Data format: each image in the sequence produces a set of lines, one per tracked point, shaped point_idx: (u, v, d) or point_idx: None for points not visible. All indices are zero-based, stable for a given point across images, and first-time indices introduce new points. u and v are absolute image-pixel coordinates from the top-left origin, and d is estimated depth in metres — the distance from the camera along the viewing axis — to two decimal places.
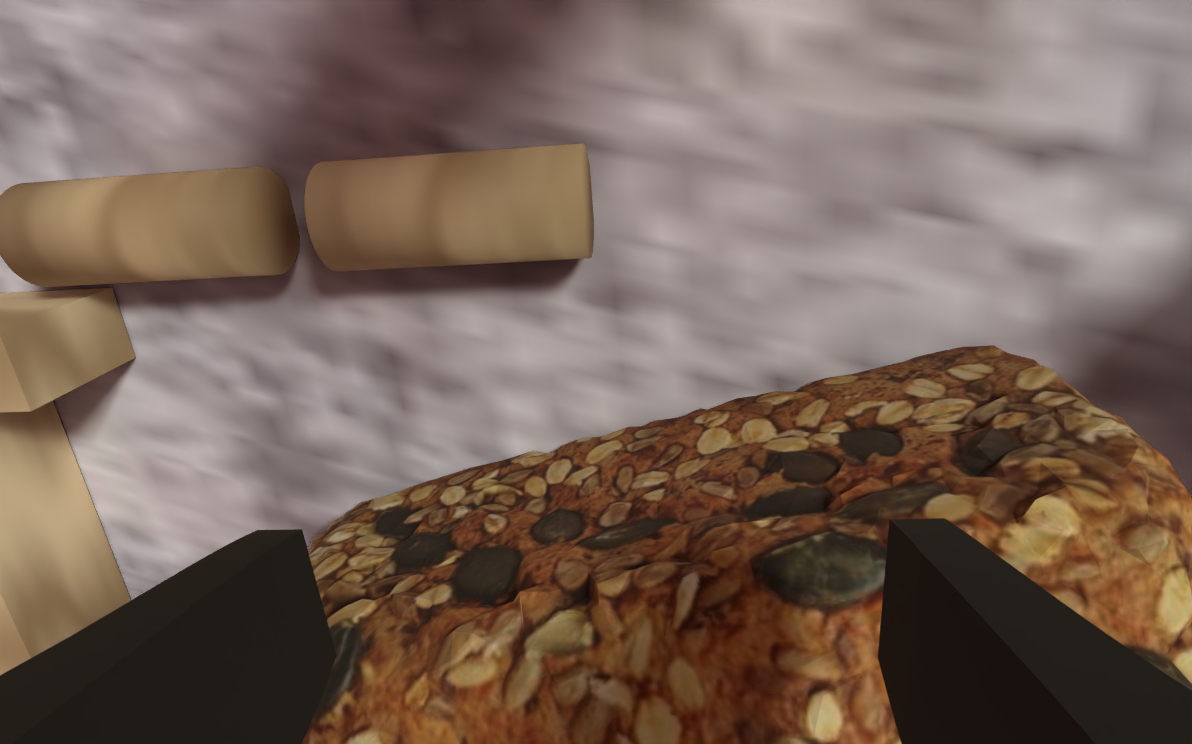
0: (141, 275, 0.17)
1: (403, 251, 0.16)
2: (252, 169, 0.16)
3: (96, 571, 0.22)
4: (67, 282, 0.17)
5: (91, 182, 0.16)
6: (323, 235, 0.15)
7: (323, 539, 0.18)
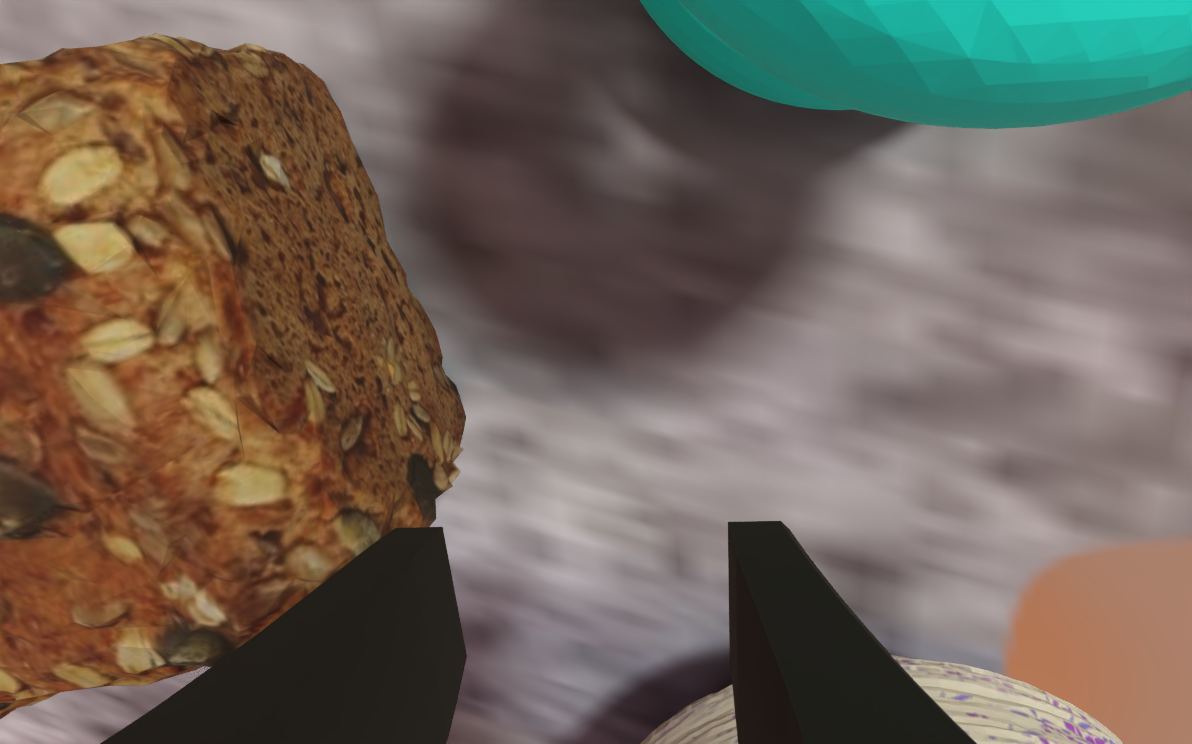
0: None
1: None
2: None
3: None
4: None
5: None
6: None
7: None
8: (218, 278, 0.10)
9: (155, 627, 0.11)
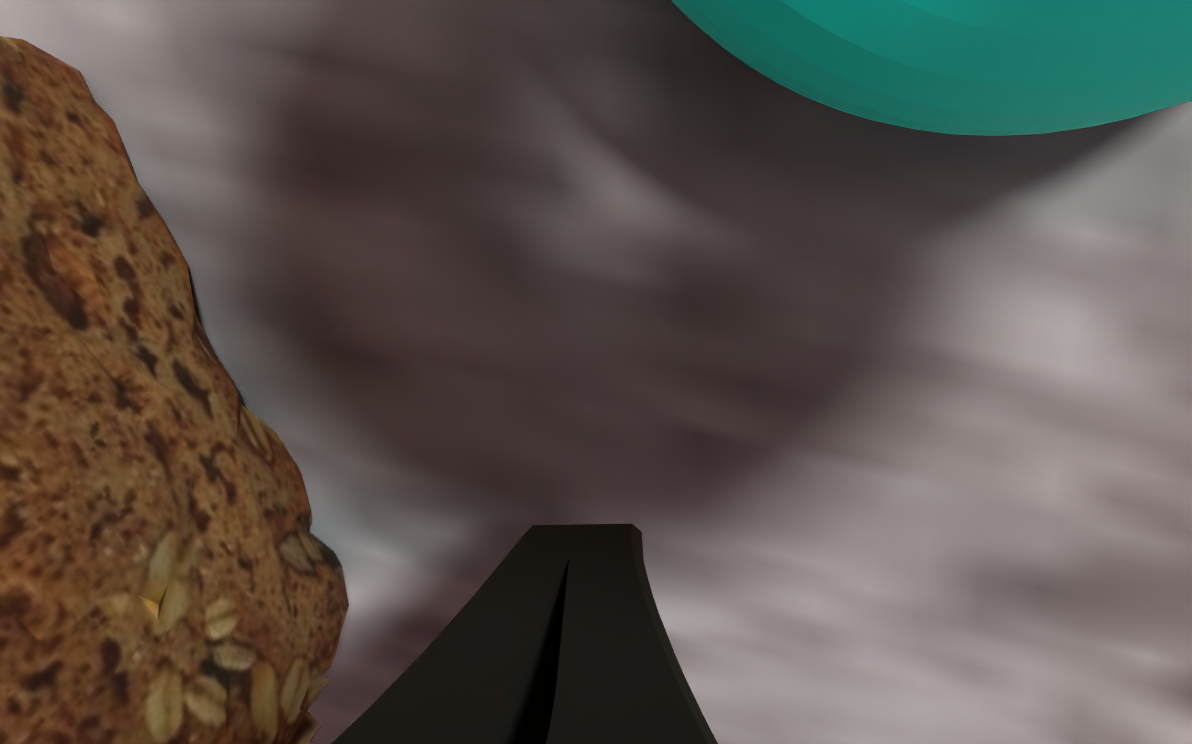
0: None
1: None
2: None
3: None
4: None
5: None
6: None
7: None
8: None
9: None
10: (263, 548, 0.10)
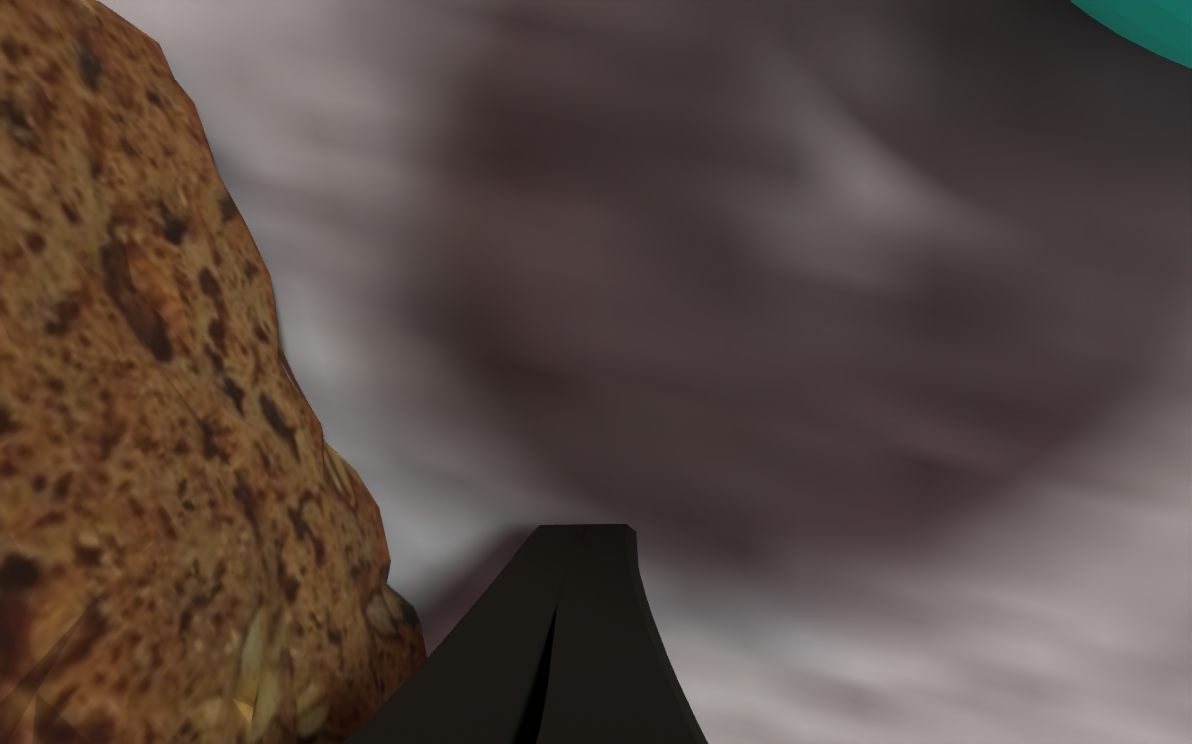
0: None
1: None
2: None
3: None
4: None
5: None
6: None
7: None
8: None
9: None
10: (351, 614, 0.08)
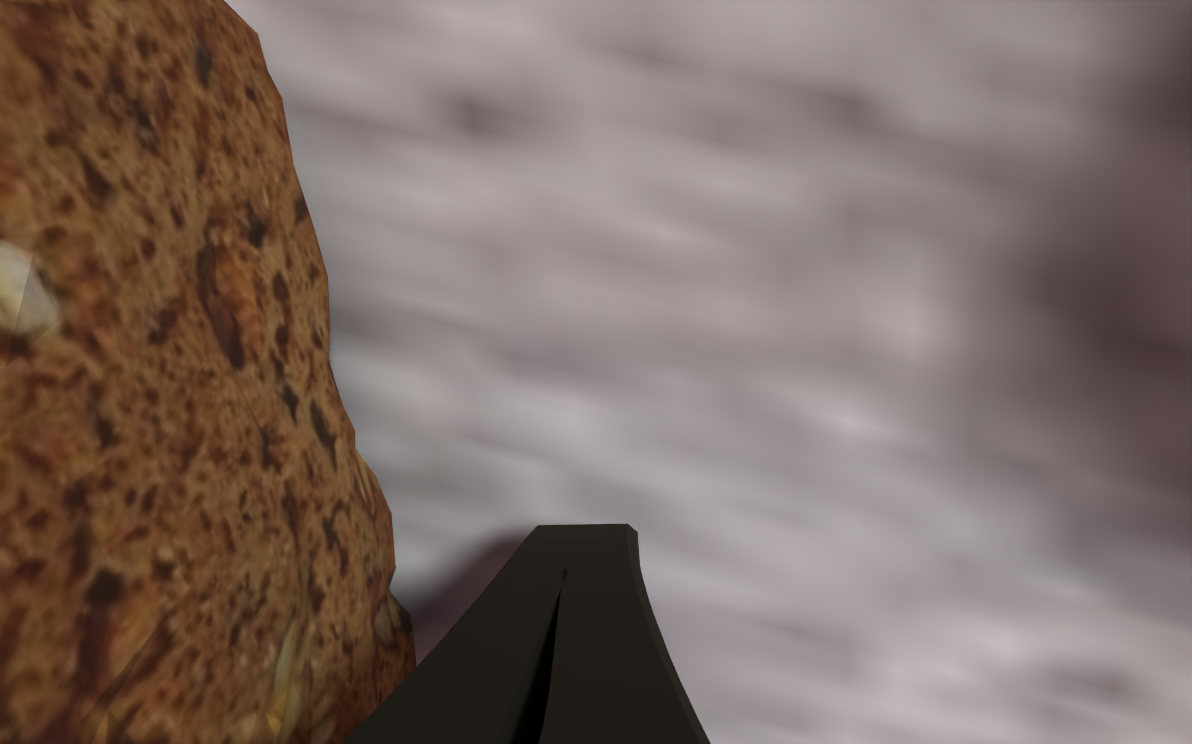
0: None
1: None
2: None
3: None
4: None
5: None
6: None
7: None
8: None
9: None
10: (362, 625, 0.09)
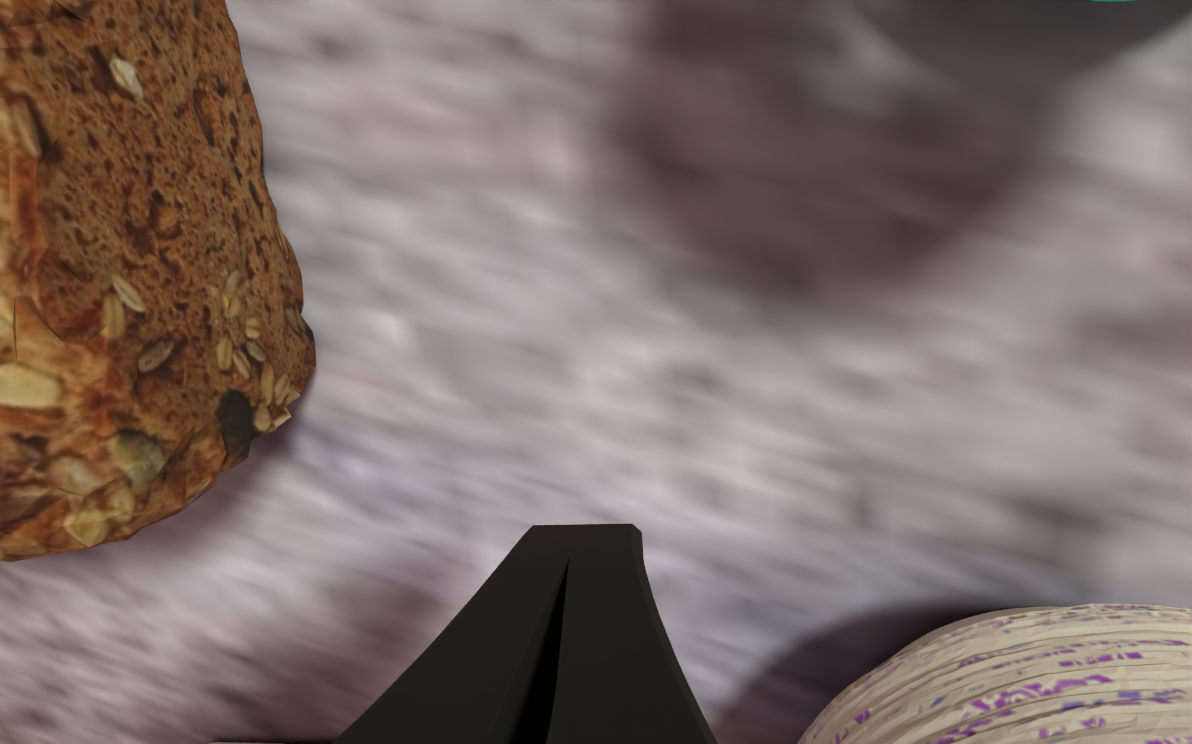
0: None
1: None
2: None
3: None
4: None
5: None
6: None
7: None
8: (18, 173, 0.10)
9: None
10: (277, 304, 0.17)
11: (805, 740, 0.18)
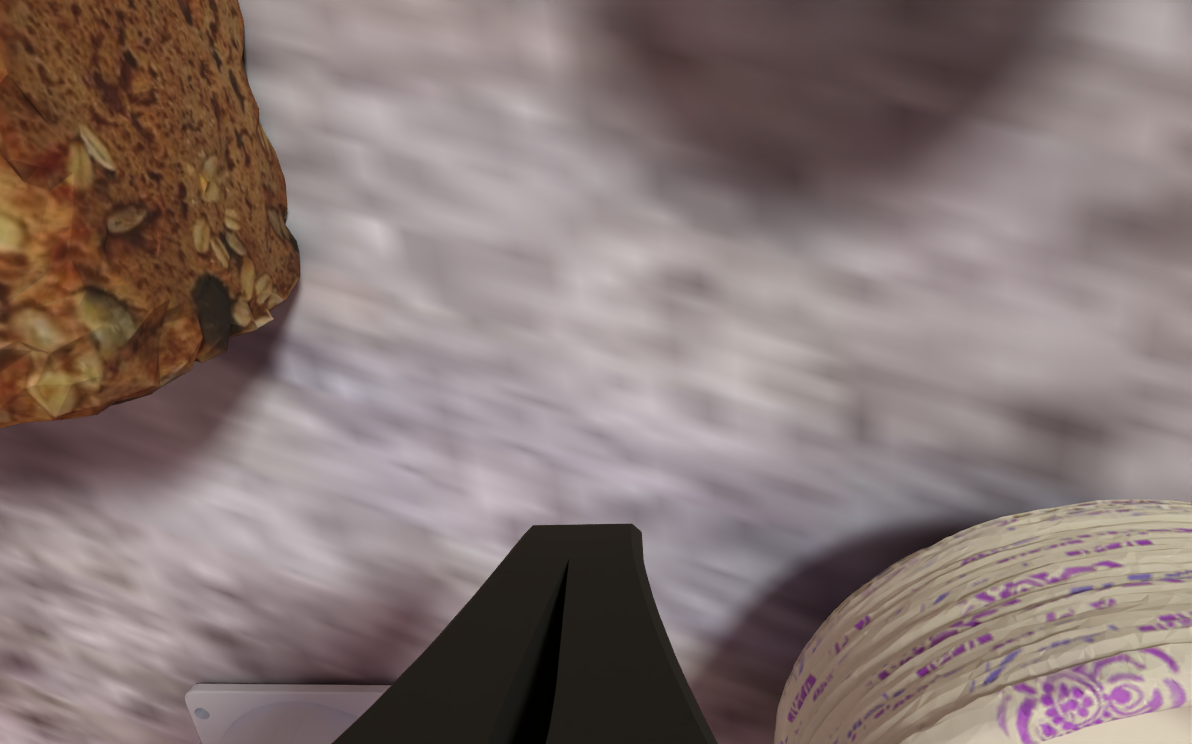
0: None
1: None
2: None
3: None
4: None
5: None
6: None
7: None
8: None
9: None
10: (259, 203, 0.16)
11: (804, 655, 0.18)
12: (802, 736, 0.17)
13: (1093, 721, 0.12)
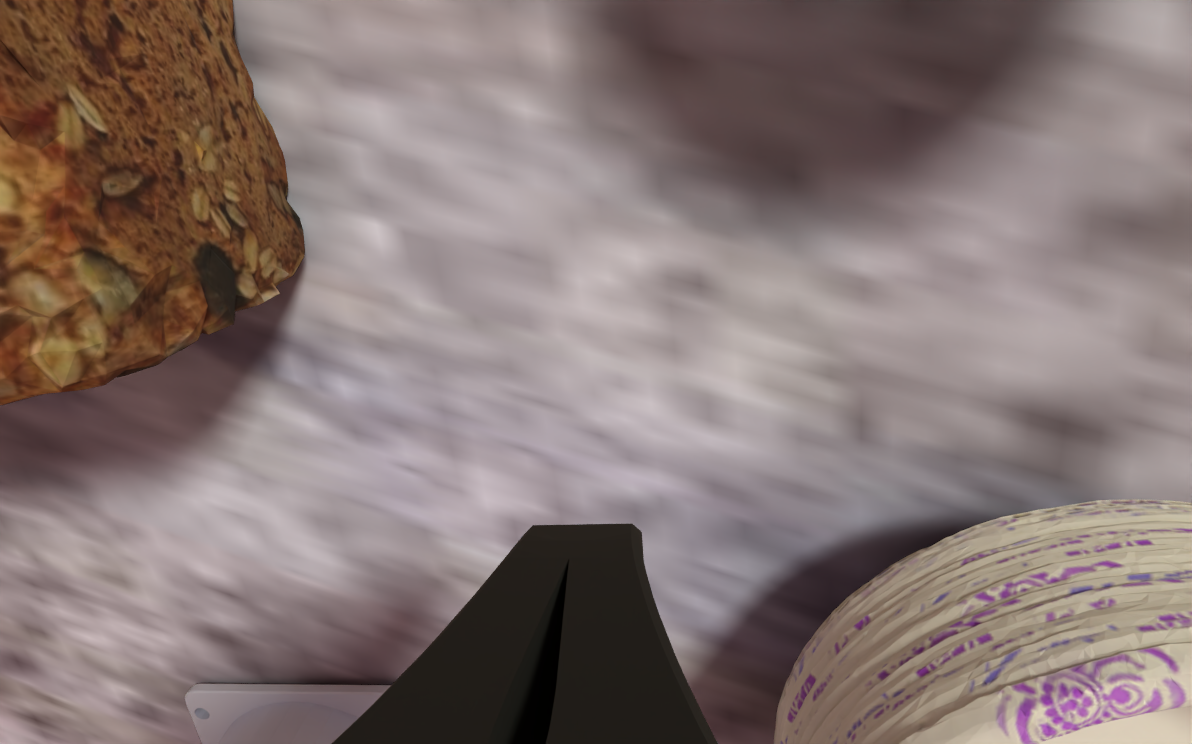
0: None
1: None
2: None
3: None
4: None
5: None
6: None
7: None
8: None
9: None
10: (258, 176, 0.16)
11: (804, 655, 0.18)
12: (802, 736, 0.17)
13: (1093, 721, 0.12)
